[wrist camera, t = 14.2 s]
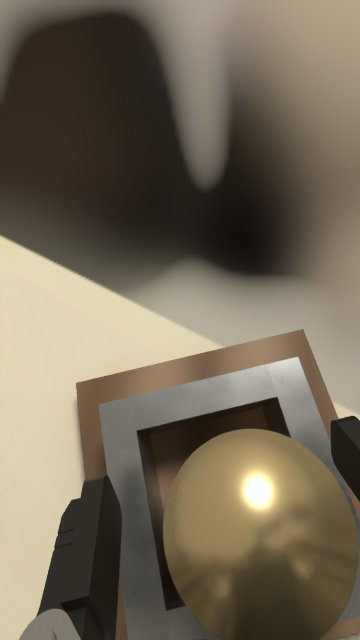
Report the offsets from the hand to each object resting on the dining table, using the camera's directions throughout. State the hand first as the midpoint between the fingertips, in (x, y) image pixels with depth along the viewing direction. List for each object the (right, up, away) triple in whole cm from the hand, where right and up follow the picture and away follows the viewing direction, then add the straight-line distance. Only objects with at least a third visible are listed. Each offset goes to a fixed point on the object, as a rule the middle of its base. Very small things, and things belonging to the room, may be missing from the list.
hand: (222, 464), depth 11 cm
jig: (+1, -4, +7) cm, 8 cm away
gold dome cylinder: (+1, -3, +5) cm, 6 cm away
